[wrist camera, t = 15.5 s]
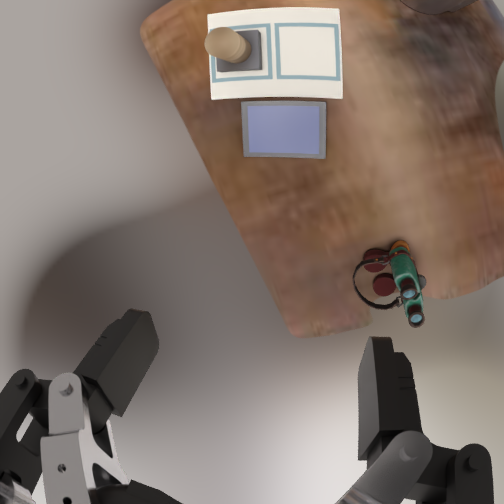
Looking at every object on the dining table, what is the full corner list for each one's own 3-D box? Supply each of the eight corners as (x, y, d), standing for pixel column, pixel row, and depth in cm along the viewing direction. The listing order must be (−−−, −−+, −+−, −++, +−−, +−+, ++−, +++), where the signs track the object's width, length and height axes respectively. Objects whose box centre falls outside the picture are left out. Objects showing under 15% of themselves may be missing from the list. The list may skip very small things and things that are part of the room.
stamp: (260, 32, 28) (245, 17, 21) (262, 70, 31) (247, 63, 24) (220, 36, 29) (196, 23, 22) (221, 72, 32) (197, 67, 25)
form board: (338, 9, 25) (339, 8, 25) (342, 99, 31) (342, 99, 30) (208, 15, 28) (207, 14, 28) (212, 99, 34) (211, 99, 34)
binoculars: (343, 300, 33) (424, 275, 28) (346, 253, 42) (410, 229, 37) (366, 348, 36) (437, 328, 31) (366, 297, 45) (425, 279, 40)
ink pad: (325, 101, 32) (326, 102, 30) (325, 157, 35) (325, 159, 34) (243, 101, 34) (240, 101, 32) (245, 154, 37) (243, 157, 36)
